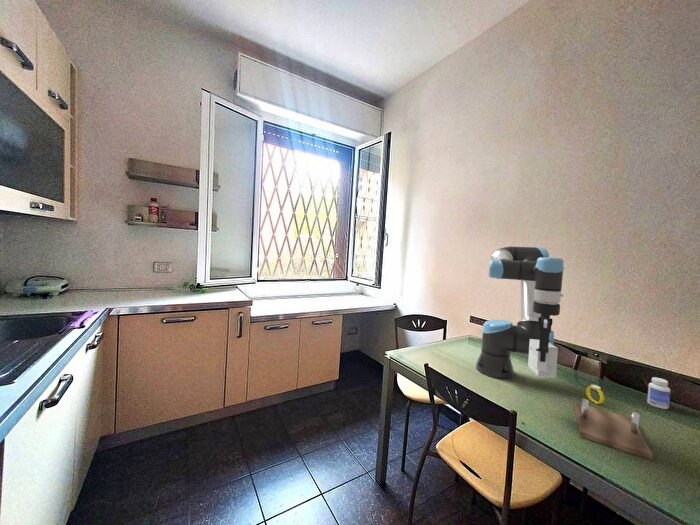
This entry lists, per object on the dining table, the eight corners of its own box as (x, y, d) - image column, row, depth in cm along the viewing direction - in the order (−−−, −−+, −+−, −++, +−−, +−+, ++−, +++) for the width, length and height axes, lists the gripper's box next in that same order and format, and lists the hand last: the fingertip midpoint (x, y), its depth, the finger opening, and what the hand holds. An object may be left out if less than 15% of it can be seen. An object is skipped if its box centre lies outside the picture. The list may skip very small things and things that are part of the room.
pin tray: (580, 436, 82) (582, 412, 82) (574, 406, 99) (575, 385, 98) (652, 460, 74) (655, 433, 73) (632, 422, 90) (634, 400, 90)
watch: (605, 406, 100) (607, 391, 99) (597, 406, 99) (600, 391, 99) (590, 396, 105) (592, 382, 105) (583, 396, 105) (585, 382, 105)
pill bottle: (672, 411, 98) (675, 384, 97) (653, 407, 100) (655, 381, 99) (661, 402, 103) (664, 377, 102) (643, 399, 105) (645, 375, 104)
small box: (556, 378, 92) (558, 348, 91) (537, 376, 93) (540, 346, 92) (544, 368, 99) (546, 339, 99) (527, 366, 101) (529, 338, 100)
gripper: (562, 309, 83) (556, 380, 85) (558, 298, 101) (554, 357, 103) (532, 305, 87) (527, 373, 89) (534, 296, 105) (530, 352, 107)
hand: (541, 365), depth 96 cm, fingers closed on small box, 9 cm apart
